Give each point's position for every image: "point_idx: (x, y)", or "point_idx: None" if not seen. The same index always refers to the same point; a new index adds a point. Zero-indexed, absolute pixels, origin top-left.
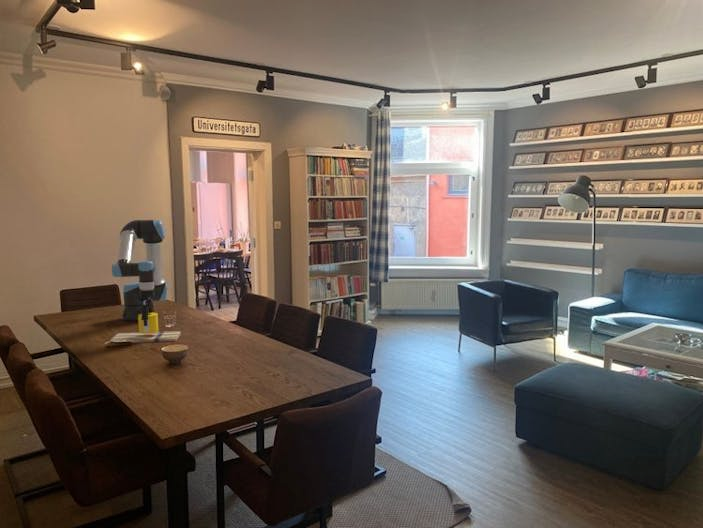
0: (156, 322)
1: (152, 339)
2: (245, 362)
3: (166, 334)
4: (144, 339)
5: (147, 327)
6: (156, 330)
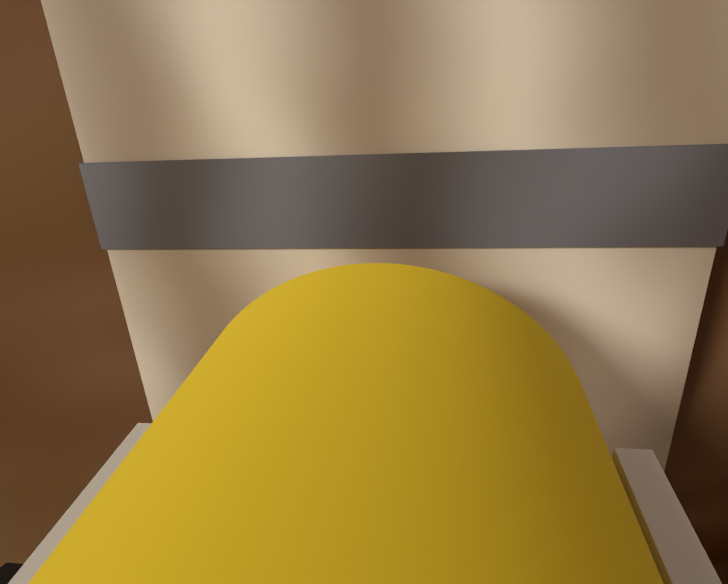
0: (470, 436)
1: (707, 275)
2: None
3: (330, 57)
4: (677, 413)
5: (694, 561)
6: (472, 297)
